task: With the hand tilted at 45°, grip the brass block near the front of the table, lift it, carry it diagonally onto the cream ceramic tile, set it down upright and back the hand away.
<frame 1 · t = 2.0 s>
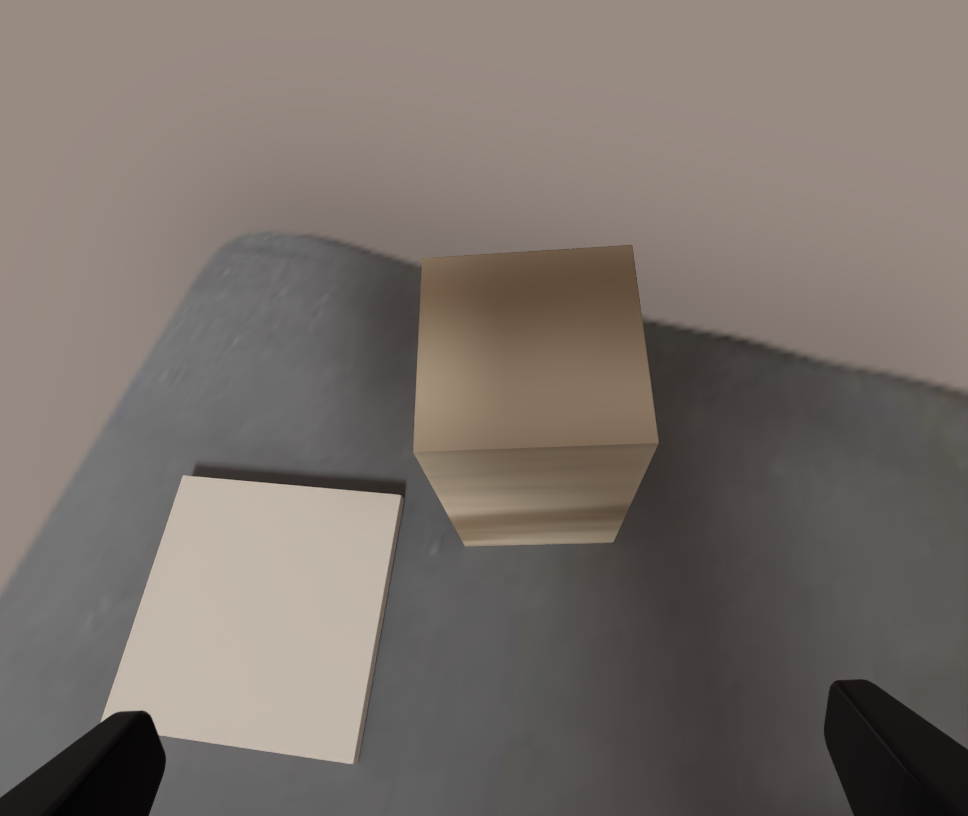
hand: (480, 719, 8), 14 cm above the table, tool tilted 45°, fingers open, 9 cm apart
cream tile: (265, 606, 23), on the table
brass block: (535, 473, 24), on the table
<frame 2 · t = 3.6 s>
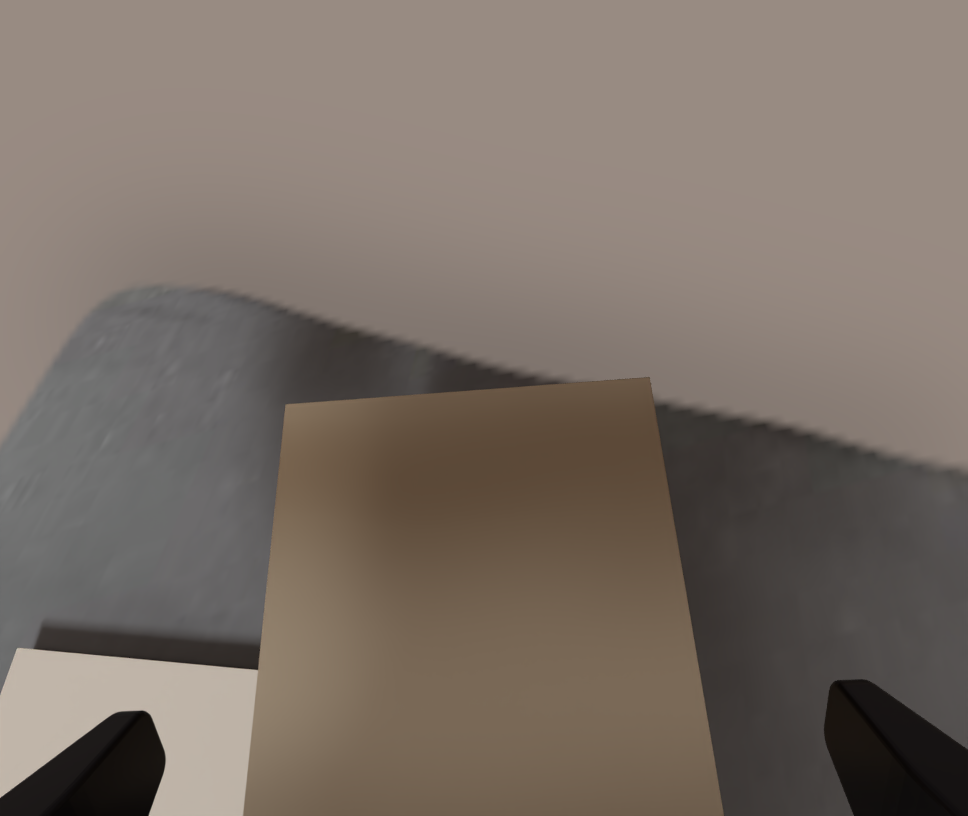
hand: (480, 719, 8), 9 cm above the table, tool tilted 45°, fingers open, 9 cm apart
brass block: (509, 633, 17), on the table
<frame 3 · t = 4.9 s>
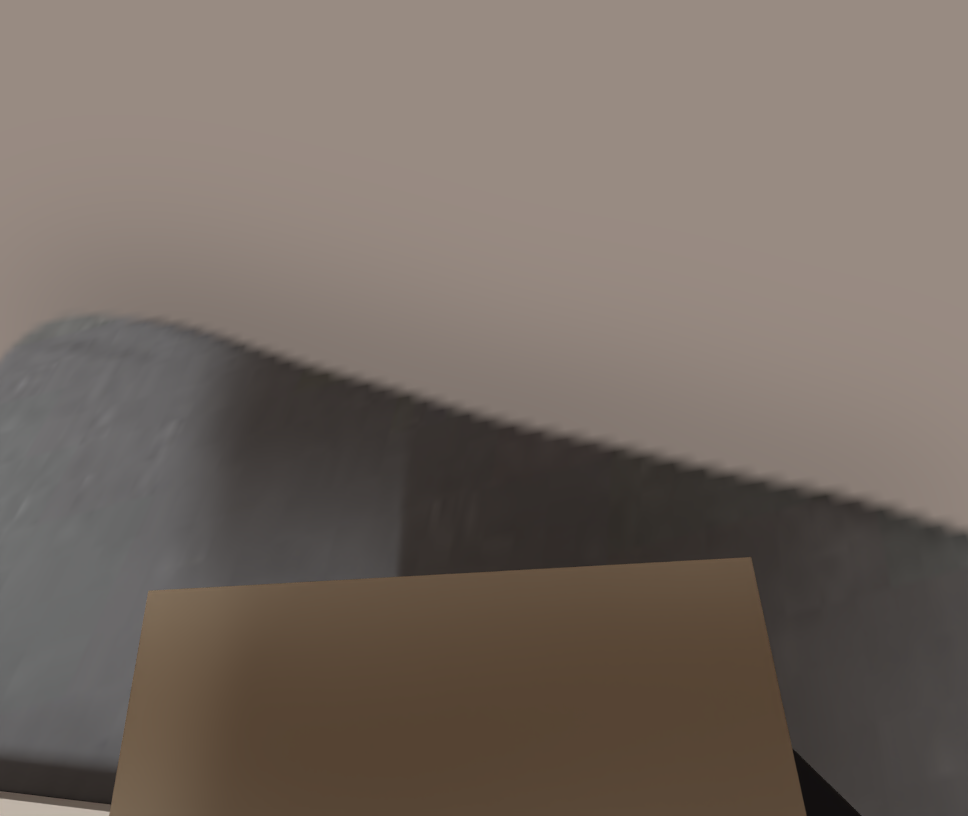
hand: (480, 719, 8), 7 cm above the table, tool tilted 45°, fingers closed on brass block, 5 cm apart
brass block: (510, 770, 14), on the table, touching gripper
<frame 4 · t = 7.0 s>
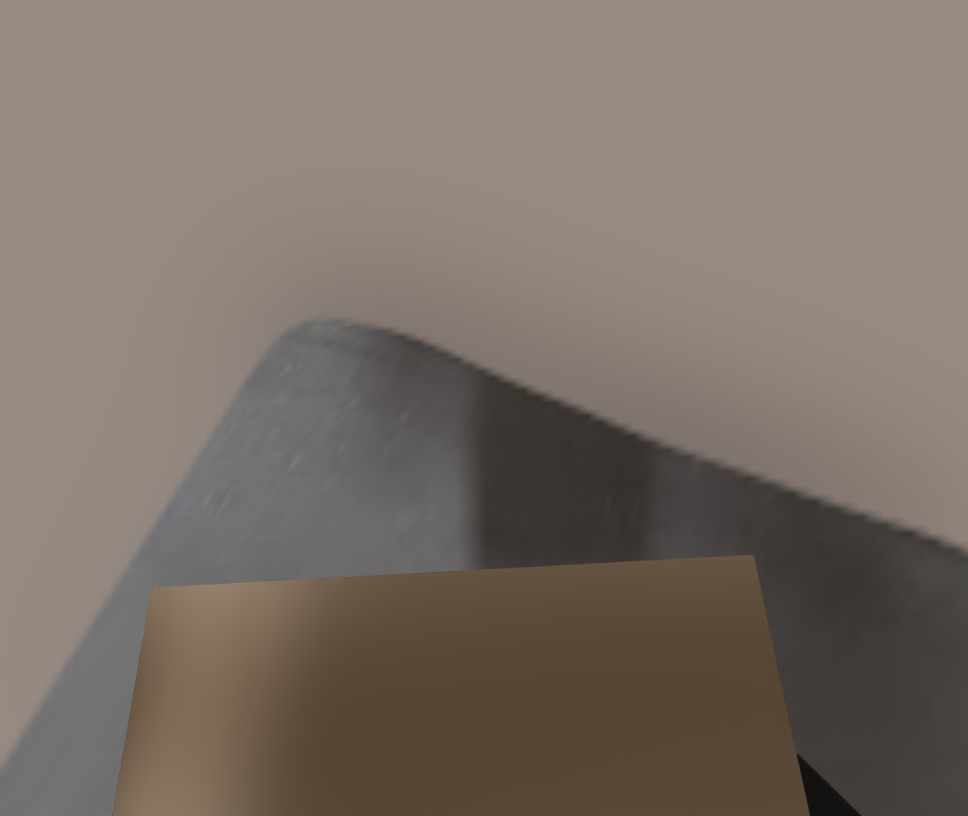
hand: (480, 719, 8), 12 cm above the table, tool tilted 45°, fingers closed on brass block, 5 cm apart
brass block: (511, 769, 14), point 6 cm above the table, touching gripper
when the fingers open (8 cm above the table, at t = 8.9 s): brass block drops 1 cm, resting on cream tile.
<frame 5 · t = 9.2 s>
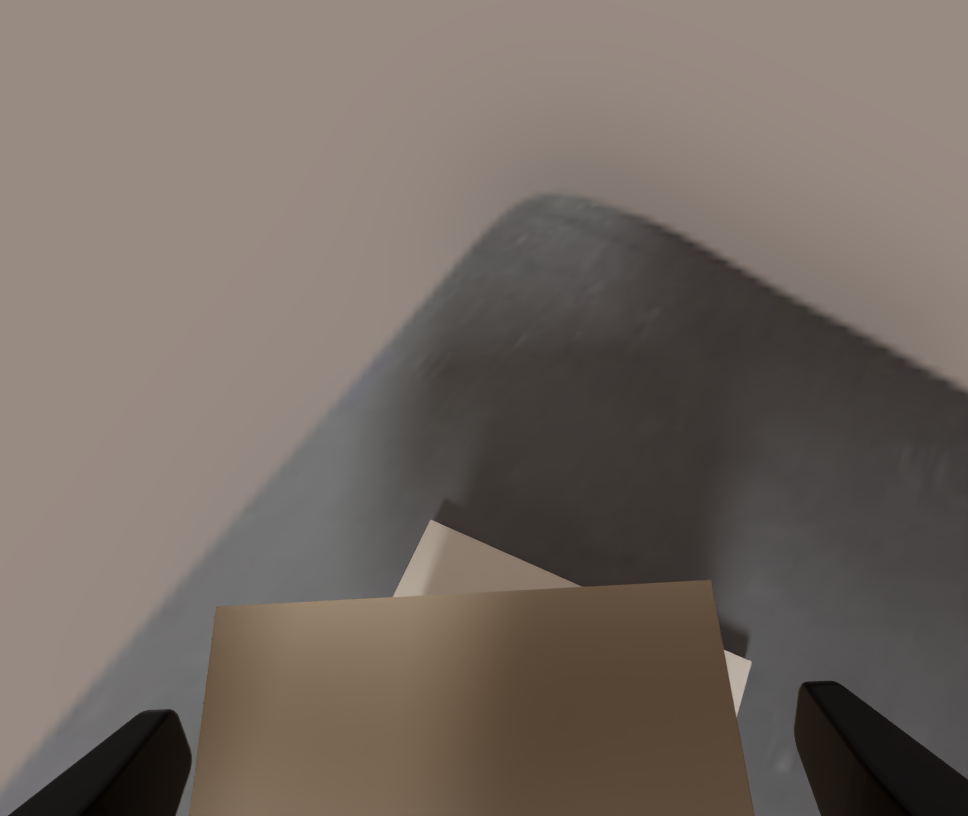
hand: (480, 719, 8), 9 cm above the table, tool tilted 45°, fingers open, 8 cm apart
cream tile: (514, 758, 15), on the table
brass block: (513, 762, 15), point 1 cm above the table, touching cream tile
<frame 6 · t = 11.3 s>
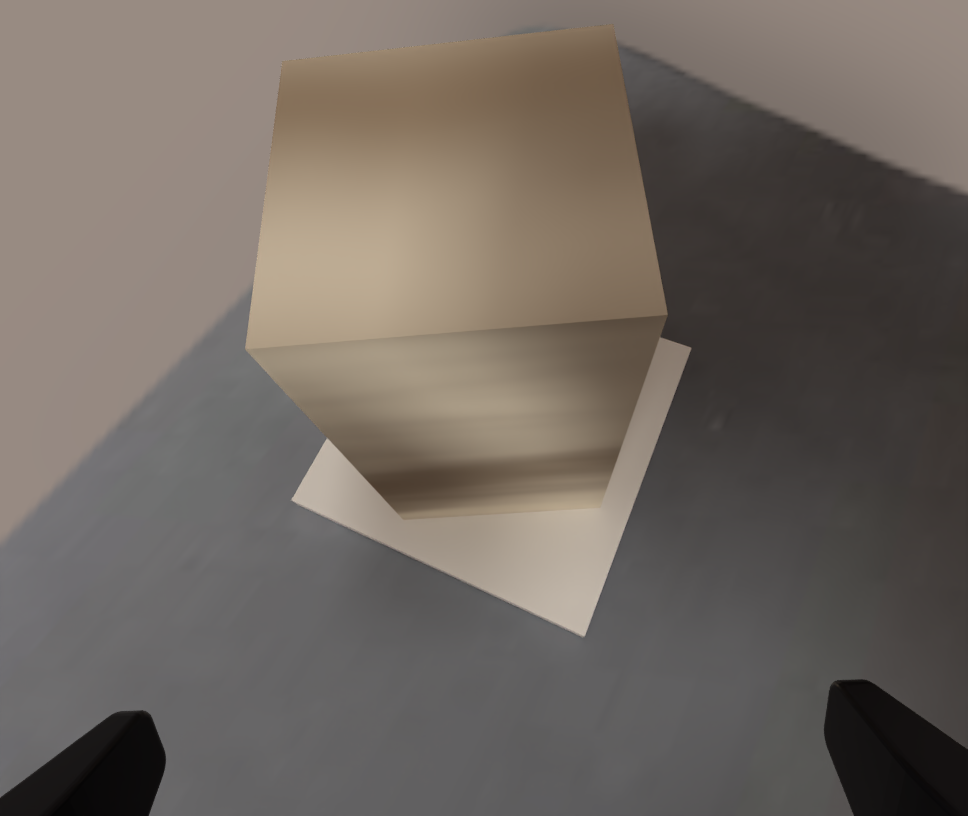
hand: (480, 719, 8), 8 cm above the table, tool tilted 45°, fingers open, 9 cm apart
cream tile: (497, 429, 19), on the table
brass block: (495, 422, 18), point 1 cm above the table, touching cream tile
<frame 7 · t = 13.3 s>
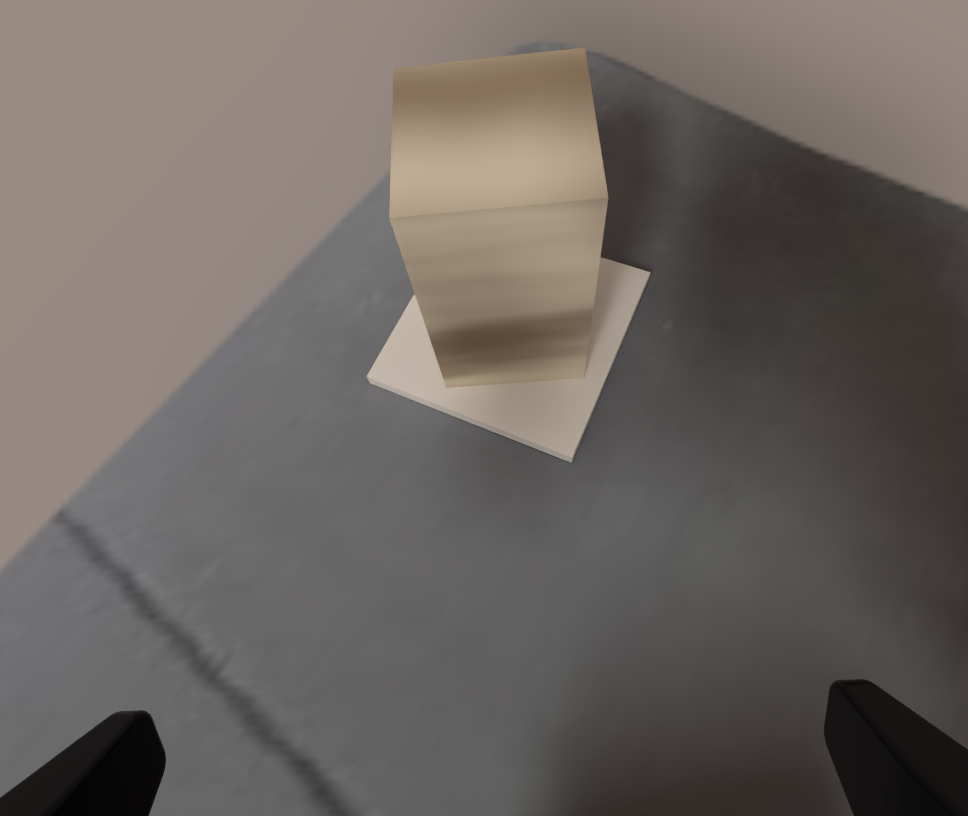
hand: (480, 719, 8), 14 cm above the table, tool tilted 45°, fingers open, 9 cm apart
cream tile: (511, 331, 26), on the table
brass block: (510, 323, 26), point 1 cm above the table, touching cream tile
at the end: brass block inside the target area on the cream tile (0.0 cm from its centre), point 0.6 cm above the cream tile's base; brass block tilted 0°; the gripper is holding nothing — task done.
